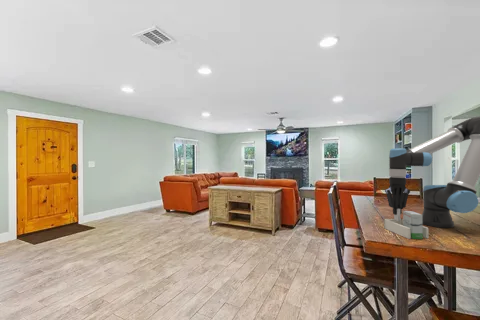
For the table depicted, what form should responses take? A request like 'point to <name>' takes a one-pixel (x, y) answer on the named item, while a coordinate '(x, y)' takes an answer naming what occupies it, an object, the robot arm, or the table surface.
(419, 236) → the ink box
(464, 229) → the table surface
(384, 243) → the table surface
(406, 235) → the white u-shaped frame
